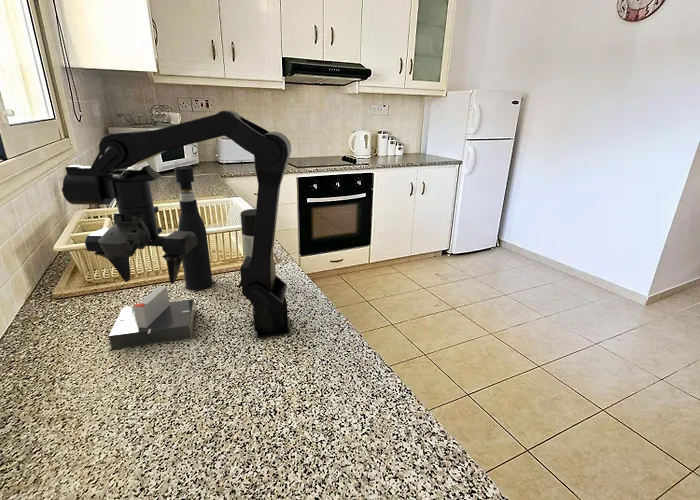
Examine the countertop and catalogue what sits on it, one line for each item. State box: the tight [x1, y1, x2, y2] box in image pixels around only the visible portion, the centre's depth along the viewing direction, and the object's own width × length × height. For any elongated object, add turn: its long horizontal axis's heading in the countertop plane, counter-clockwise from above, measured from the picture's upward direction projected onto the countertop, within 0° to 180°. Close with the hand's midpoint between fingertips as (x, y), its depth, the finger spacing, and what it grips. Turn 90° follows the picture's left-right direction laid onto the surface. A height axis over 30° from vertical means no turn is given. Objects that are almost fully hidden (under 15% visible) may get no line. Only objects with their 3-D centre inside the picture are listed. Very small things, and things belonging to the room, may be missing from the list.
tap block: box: [108, 298, 196, 350], centre depth 77 cm, size 14×13×3 cm
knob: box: [134, 285, 171, 328], centre depth 76 cm, size 9×2×5 cm, turn 177°
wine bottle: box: [173, 165, 214, 291], centre depth 91 cm, size 6×6×30 cm
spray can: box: [240, 208, 256, 259], centre depth 92 cm, size 7×7×20 cm
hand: (150, 282), depth 73 cm, fingers open, 9 cm apart
